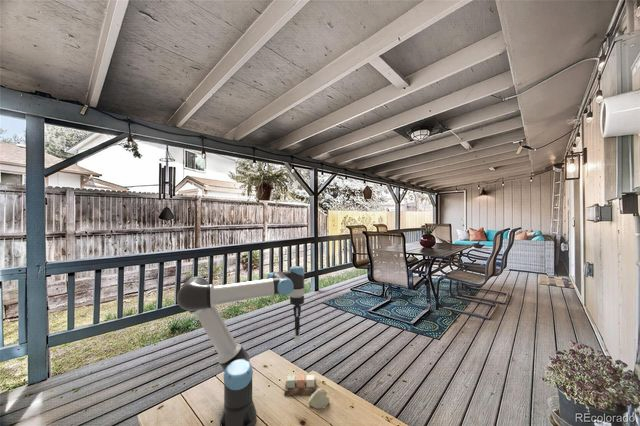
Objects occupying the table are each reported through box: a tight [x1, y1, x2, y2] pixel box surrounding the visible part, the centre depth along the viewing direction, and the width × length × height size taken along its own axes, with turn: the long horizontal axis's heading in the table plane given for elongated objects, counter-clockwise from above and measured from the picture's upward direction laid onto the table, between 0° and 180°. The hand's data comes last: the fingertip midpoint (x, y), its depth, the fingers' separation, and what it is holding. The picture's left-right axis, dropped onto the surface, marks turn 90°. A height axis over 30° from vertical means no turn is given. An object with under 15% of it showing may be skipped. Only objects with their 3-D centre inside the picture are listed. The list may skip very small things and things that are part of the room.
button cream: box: [305, 374, 315, 388], centre depth 125 cm, size 4×4×4 cm
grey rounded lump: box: [307, 387, 330, 409], centre depth 115 cm, size 8×8×8 cm
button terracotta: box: [296, 374, 306, 388], centre depth 125 cm, size 4×4×4 cm
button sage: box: [286, 374, 296, 389], centre depth 125 cm, size 4×4×4 cm
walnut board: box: [283, 379, 317, 396], centre depth 125 cm, size 16×8×2 cm, turn 92°
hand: (297, 340), depth 129 cm, fingers closed
